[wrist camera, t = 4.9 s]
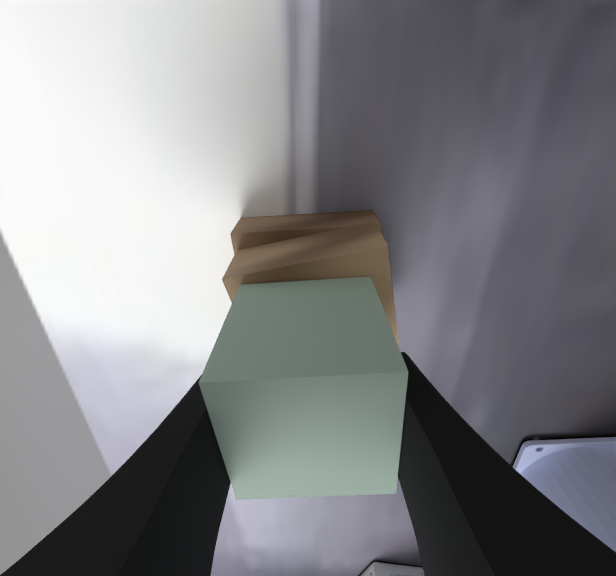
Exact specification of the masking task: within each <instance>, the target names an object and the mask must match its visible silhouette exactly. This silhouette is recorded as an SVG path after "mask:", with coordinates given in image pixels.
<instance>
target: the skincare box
mask: <svg viewBox="0 0 616 576" xmlns="http://www.w3.org/2000/svg"><path fill="white" fill-rule="evenodd" d="M361 576H425V575H424V571H423V567H414V566H405V565H396V564H387V563H379V562H373V563H372V564H371V565H370V566H369V567H368V568H367V569H366V570H365V571H364V572H363V574H362V575H361Z"/></svg>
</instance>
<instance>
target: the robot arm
mask: <svg viewBox="0 0 616 576" xmlns="http://www.w3.org/2000/svg"><path fill="white" fill-rule="evenodd" d="M401 354H402V357H403V359H404V362H405V364H406V367H407V369H408V381H407V391H406V401H405V410H404V420H403V430H402V439H401V449H400V459H399V469H398V478H399V481H400V484H401V488H402V491H403V494H404V498H405V501H406V504H407V508H408V511H409V514H410V518H411V521H412V524H413V528H414V532H415V536H416V540H417V543H418V548H419V552H420V557H421V562H422V566H423V571H424V575H425V576H616V437H602V438H578V439H555V440H531V441H526V442H524V443H523V444H522V446H521V448H520V451H519V453H518V455H517V458H516V460H515V462H514V465H513V467H512V466H511V465H510V464H509V463H507V462H506V461H505V460H504V459H503V458H502V457H501V456H500V455H499V454H498V453H497V452H496V451H495V450H494V449H493V448H492V447H491V446H490V445H489V444H487V443H486V442H485V441H484V440H483V439H482V438H481V437H480V436H479V435H478V434H477V433H476V432H475V431H474V430H473V429H472V428H471V427H470V426H469V425H468V423H467V422H466V421H465V420H464V419H463V418H462V417H461V416H460V415H459V414H458V413H457V412H456V411H455V410H454V409H453V408H452V406H451V405H450V404H449V403H448V402H447V401H446V400H445V399H444V398H443V397H442V395H441V394H440V393H439V392H438V391H437V390H436V389H435V388H434V386H433V385H432V384H431V383H430V382H429V381H428V379H427V378H426V377H425V376H424V375H423V373H422V372H421V371H420V370H419V369H418V367H417V366H416V365H415V364H414V362H413V361H412V360H411V359H410V357H409V356H408V355H407V354H406V353H405V352H401ZM201 376H202V375H201ZM201 376H200V377H199V379H198V380H197V381H196V382H195V384H194V385H193V386H192V387H191V388H190V390H189V391H188V392H187V393H186V395H185V396H184V397H183V398H182V399H181V401H180V402H179V403H178V404H177V405H176V407H175V408H174V409H173V410H172V411H171V412H170V414H169V415H168V416H167V417H166V418H165V419H164V421H163V422H162V423H161V424H160V425H159V426H158V428H157V429H156V430H155V431H154V432H153V433H152V434H151V435H150V436H149V437H148V439H147V440H146V441H145V442H144V443H143V444H142V445H141V446H140V447H139V448H138V449H137V450H136V451H135V453H134V454H133V455H132V456H131V457H130V458H129V459H128V460H127V461H126V462H125V463H124V464H123V465H122V466H121V467H120V468H119V469H118V470H117V471H116V472H115V473H114V474H113V475H112V476H111V477H110V478H109V480H107V481H106V482H105V483H104V484H103V485H102V486H101V487H100V488H99V489H98V490H97V491H96V492H95V493H94V494H93V495H92V496H91V497H90V498H89V499H88V500H86V501H85V502H84V503H83V504H82V505H81V506H80V507H79V508H78V509H77V510H76V511H75V512H73V513H72V514H71V515H70V516H69V517H68V518H67V519H66V520H64V521H63V522H62V523H61V524H60V525H59V526H58V527H56V528H55V529H54V530H53V531H52V532H51V533H50V534H49V535H47V536H46V537H45V538H44V539H43V540H42V541H40V542H39V543H38V544H37V545H36V546H35V547H33V548H32V549H31V550H30V551H29V552H28V553H27V554H25V555H24V556H23V557H22V558H21V559H20V560H19V561H17V562H16V563H15V564H14V565H12V566H11V567H10V568H9V569H7V570H6V571H5V572H4V573H3V574H1V575H0V576H210V574H211V568H212V562H213V556H214V550H215V545H216V541H217V536H218V531H219V527H220V523H221V519H222V515H223V511H224V507H225V503H226V499H227V495H228V491H229V487H230V483H231V482H230V479H229V476H228V473H227V469H226V466H225V463H224V460H223V457H222V454H221V451H220V448H219V445H218V441H217V438H216V435H215V432H214V429H213V426H212V423H211V420H210V417H209V414H208V410H207V407H206V404H205V401H204V398H203V395H202V392H201V389H200V386H199V381H200V378H201Z"/></svg>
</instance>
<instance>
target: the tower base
mask: <svg viewBox="0 0 616 576" xmlns="http://www.w3.org/2000/svg"><path fill="white" fill-rule="evenodd" d="M371 221H375V223H376V225H377V227H378V228H379V230H380V232H381V234H382V224H381V222H380V221H379V219H378V218H377V216H376V214H375V213H374V211H373V210H363V211H347V212H331V213H314V214H298V215H282V216H266V217H249V218H240V220H239V221H238V223H237V224H236V226H235V227H234V229H233V231H232V232H231V239H232V244H233V249H234V254H236V252H237V250H241V249H246V248H250V247H255V246H260V245H264V244H269V243H274V242H278V241H283V240H287V239H292V238H297V237H301V236H306V235H311V234H315V233H320V232H325V231H329V230H334V229H339V228H343V227H348V226H353V225H357V224H362V223H366V222H371Z"/></svg>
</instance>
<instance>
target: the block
mask: <svg viewBox="0 0 616 576" xmlns="http://www.w3.org/2000/svg"><path fill="white" fill-rule="evenodd" d="M407 381H408V369H407V367H406V364H405V362H404V359H403V357H402V354H401V352H400V349H399V347H398V344H397V342H396V339H395V337H394V334H393V332H392V329H391V326H390V324H389V321H388V319H387V316H386V314H385V311H384V309H383V306H382V304H381V301H380V299H379V296H378V294H377V291H376V289H375V286H374V283H373V281H372V278H371V276H368V277H353V278H337V279H322V280H306V281H290V282H275V283H259V284H243V285H240V286H239V289H238V291H237V293H236V296H235V298H234V300H233V303H232V305H231V308H230V310H229V312H228V315H227V317H226V319H225V322H224V324H223V326H222V329H221V331H220V333H219V336H218V338H217V341H216V343H215V345H214V348H213V350H212V352H211V355H210V357H209V359H208V362H207V364H206V367H205V369H204V371H203V374H202V376H201V378H200V381H199V386H200V389H201V392H202V395H203V398H204V401H205V404H206V407H207V410H208V414H209V417H210V420H211V423H212V426H213V429H214V432H215V435H216V438H217V441H218V445H219V448H220V451H221V454H222V457H223V460H224V463H225V466H226V469H227V473H228V476H229V479H230V482H231V485H232V488H233V491H234V494H235V497H236V500H240V499H267V498H294V497H320V496H347V495H373V494H396V488H397V478H398V469H399V459H400V449H401V439H402V430H403V420H404V410H405V401H406V391H407Z"/></svg>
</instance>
